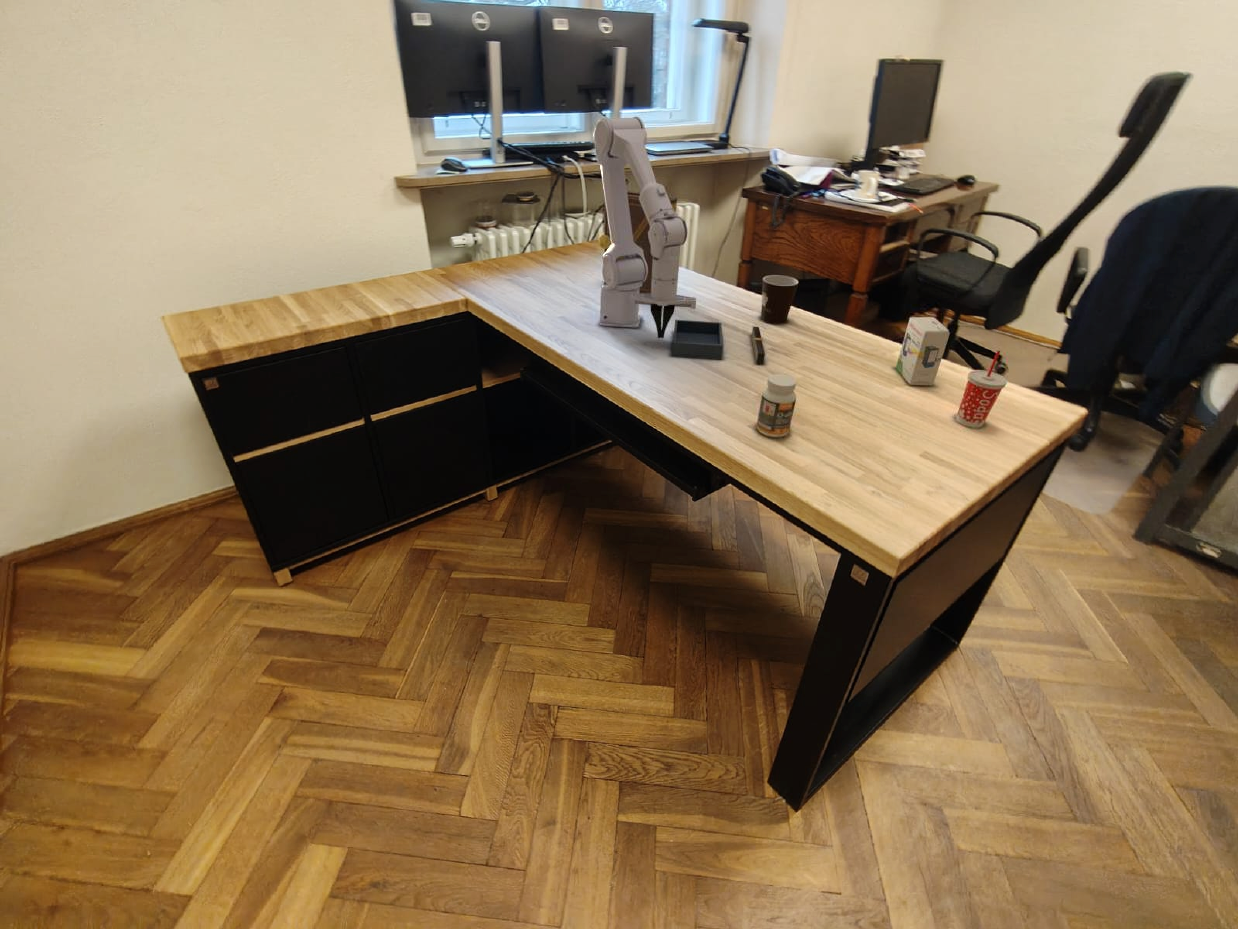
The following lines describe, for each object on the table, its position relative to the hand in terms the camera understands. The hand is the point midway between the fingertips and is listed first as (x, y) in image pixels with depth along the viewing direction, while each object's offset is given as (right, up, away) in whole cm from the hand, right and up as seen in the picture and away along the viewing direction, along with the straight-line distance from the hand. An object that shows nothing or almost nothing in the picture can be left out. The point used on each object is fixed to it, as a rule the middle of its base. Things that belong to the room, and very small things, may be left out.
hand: (660, 336), depth 134 cm
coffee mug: (+30, +8, +17) cm, 36 cm away
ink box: (+53, -11, -11) cm, 55 cm away
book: (-5, +21, +33) cm, 39 cm away
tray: (+8, -2, 0) cm, 9 cm away
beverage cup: (+55, -22, -26) cm, 65 cm away
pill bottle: (+18, -24, -30) cm, 42 cm away
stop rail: (+22, -3, -1) cm, 22 cm away
